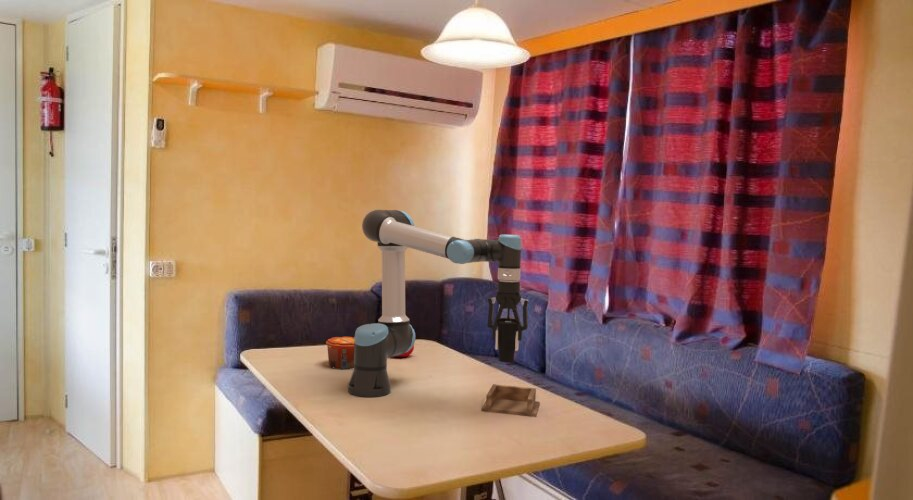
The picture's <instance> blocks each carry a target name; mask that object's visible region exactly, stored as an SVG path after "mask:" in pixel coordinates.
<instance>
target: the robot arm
mask: <svg viewBox="0 0 913 500" xmlns="http://www.w3.org/2000/svg"><path fill="white" fill-rule="evenodd" d="M361 229H362V232H363V235H364V236H365V237H366V238H367V240H370V241H372V242H374V243H375V242H376V243H377V248H378V249H379V250H380V251H381V301H382V302H381V304H382V305H381V309H382V310H381V316H380V317H379V318H378V319H377V320H378V322H377V323H367V324H366V323H365V324H362V325H360V326H359V327H357V328H356V330H355V333H354V337H353V338H354V369H352V373H351V376H350V380H349V381H348V385H347V392H348V393H349V394H350V393H351V394H350V395H353V396H356V395H357V396H356V397H363V398H365V397H366V398H371V397H373V398H375V397H376V398H377V397H382V396H386V395H389V394H391V392H392V384H391V381H390V377H389V374H388V368H387V367H388V366H387V365H388V359H390V358H393V357H394V356H398V355H402V354H404V353H406V352H408V351H409V350H410V349H411V348H412V347H413V345H414V346H415V343H416V332H415V329H414V328H413V326H412V325H411V324H410V318H409V317H408V316H407V315H406V255H405V254H406V250H407V249H408V248H409V249H412V250H416V251H419V252H423V253H426V254H429V255H430V254H431V255H434V256H437V257H441V258H445V259H448V260H449V261H450V262H452V263H454V264H459V265H464V264H468V263H469V264H470V263H481V262H483V263H484V262H486V263H497V279H498V281H497V292H496V295H495V297H489V298H488V299H487V302H488V314H487V323H486V324H487V325H486V326H487V328H489V329H492V339H493V340H495V345H494V346H495V348H494V349H495V350H498V351H499V347H498V322H497V320H499V319H500V318H502V314H503V312H504V310H506V309H508V308H509V309H510V310H511V311H512V313H513V318H515V320H516V321H517V322H519V323H518V326H517V328H518V331H517V332H516V338H515V352H518V351H519V343H520V342H521V341H522V339H523V331H526V330H527V329H528V327H529V325H528V324H529V323H528V322H529V321H528V317H529V316H528V305H529V302H530V301H529V299H527V298H526V299H524V298H522V297H521V281H520V280H521V272H522V271H521V267H522V266H521V261H522V248H523V247H522V239H521V238H522V237H521V236H520V235H519V234H500V235H499V236H498V239H483V238H482V239H481V238H470V239H464V238H461V237H457V236H452V235H448V234H445V233H440V232H437V231H434V230H429V229H426V228H423V227H419V226H415V222H414V220H413V217H411V216H410V214H408V213H407V212H405V211H402V210H397V209H393V210H392V209H373V210H371V211H369V212H368V213H367V214H366V215H365V216H364V217H363V220H362V224H361ZM496 302H497V303H498V305H499V307H498V310H497V314H496V317H495V320H494V321H493V318H494V309H495V303H496ZM519 303H521V304H520V305H521V306H522V321H523V322H521V318H520V315H519V311H518V307H517V306H518V304H519ZM493 322H494V323H493Z"/></svg>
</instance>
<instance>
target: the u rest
mask: <svg viewBox="0 0 913 500" xmlns="http://www.w3.org/2000/svg"><path fill="white" fill-rule="evenodd" d="M536 393H537V388H536V387H534V388H533V387H524V386H515V385H506V384H496V383H494V384H492V386H491V387H490V389H489V391H488V392H487V394H486V399H485V401H484V403H483V404H482V406H481V409H480V410H481V411H480V412H486V413H487V412H488V413H497V414H508V415H515V416H517V415H518V416H523V417H524V416H525V417H526V416H527V417H537V414H538V411H539V408H540V404H541V403H540V401H538V400H536V397H537V396H536V395H537V394H536Z"/></svg>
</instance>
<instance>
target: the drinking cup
mask: <svg viewBox="0 0 913 500" xmlns="http://www.w3.org/2000/svg"><path fill="white" fill-rule="evenodd" d="M510 310H511V309H509V308H507V315H506V316H503V317H501V318H500V319H499V320H497V322H498V327H497V329H498V347H499V349H498V361H499V362H502V363H513V362H514V360H515V353H516V351H515V338H516V332H517V331H518V328H517V326H518V323H519V322H517V321H516V320H515V318H514V317H511V316H510V314H511V313H510V312H511V311H510Z"/></svg>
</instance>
